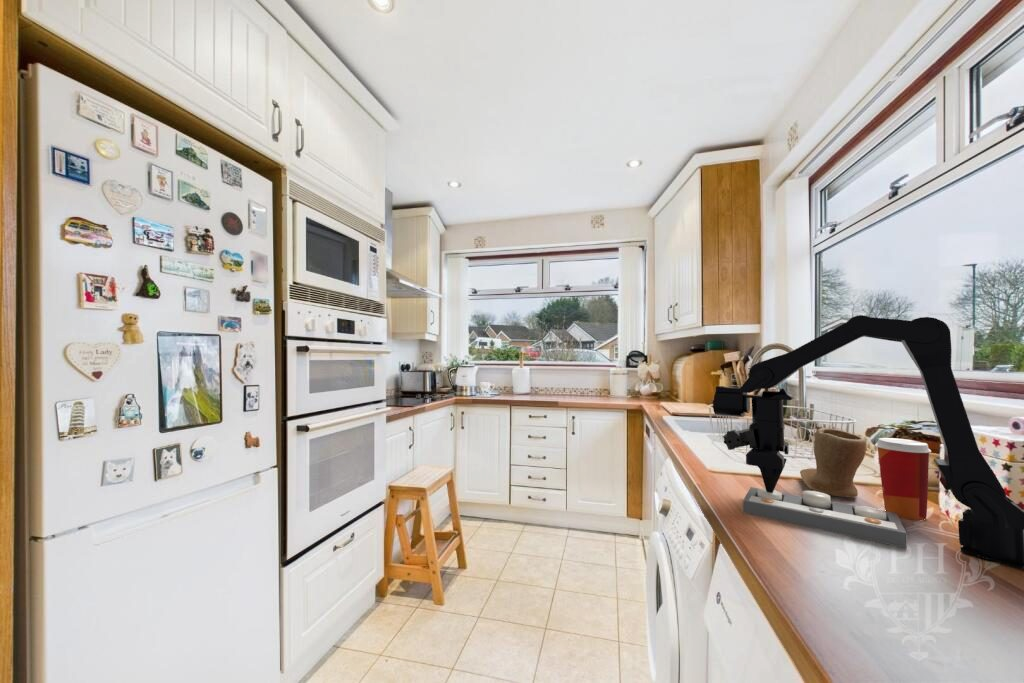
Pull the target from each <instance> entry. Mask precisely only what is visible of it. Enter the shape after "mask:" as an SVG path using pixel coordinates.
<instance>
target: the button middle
mask: <svg viewBox="0 0 1024 683" xmlns="http://www.w3.org/2000/svg"><path fill="white" fill-rule="evenodd" d="M802 496H803V503H804V504H806V505H809V506H812V507H816V508H823V509H827V508H831V495H827V494H825V493H821V492H816V491H813V490H804V491H802Z"/></svg>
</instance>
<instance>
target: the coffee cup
mask: <svg viewBox="0 0 1024 683" xmlns="http://www.w3.org/2000/svg"><path fill="white" fill-rule="evenodd" d="M875 447H877V452H878V453H877V456H878V463H879V473H880V480H881V482H880V483H881V490H882V497H883V498H882V499H883V505H884V511H885V510H886V511H888V512H893V513H897V515H898V517H899V519H900V518H901V519H905V520H911V521H919V520H921V521H925V520H924V519H926V520H927V517H928V516H927V514H928V512H927V511H928V497H929V496H928V495H929V494H928V493H929V492H928V491H929V468H930V466H929V465H930V464H929V462H930V453H932V450H931V449H930V448H929V444H928V443H926V442H922V441H918V440H914V439H906V438H895V437H880V438H878V440H877V442H876V443H875Z"/></svg>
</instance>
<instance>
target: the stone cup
mask: <svg viewBox="0 0 1024 683" xmlns="http://www.w3.org/2000/svg"><path fill="white" fill-rule="evenodd" d="M866 452H867V441H866V439H865V438H863V437H862V436H860V435H857V434H856V433H851V432H848V431H845V430H841V429H835V428H831V427H820V428H819V429H817V431H816V432H815V434H814V443H813V454H814V459H815V464H816V465H815V466H816V468H811V467H810V468H803V469H801V470H800V472H799V474H800V477H801V478H802V480H803V483H804V484H805V485H806V486H807V488H809V490H811V491H816V492H821V493H825V494H827V495H829V496H833V497H839V498H840V497H841V498H853V499H854V498H856V497H858V495H859V492H858V489H857V487H856V486H855V484H854V478H855V475H856V473H857V471H858V469H859V467H860V466H861V464H862V463H863V461H864V458H865V455H866Z"/></svg>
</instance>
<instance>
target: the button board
mask: <svg viewBox="0 0 1024 683" xmlns="http://www.w3.org/2000/svg"><path fill="white" fill-rule="evenodd" d="M758 489H760V488H759V487H758V488H757V487H754V486H753V487H749V489H748V491H747V493H746V494H745V496H744V498H743V500H742V506H743V507H742V510H743V512H742V513H743V514H747V515H753V516H756V517H762V518H766V519H770V520H771V519H772V520H775V521H779V522H784V523H789V524H792V525H793V524H794V525H798V526H801V527H807V528H812V529H817V530H820V531H821V530H822V531H826V532H831V533H835V534H839V535H840V534H841V535H843V536H844V535H845V536H850V537H853V538H857V539H862V540H863V539H864V540H866V541H867V540H868V541H870V542H876V543H881V544H886V545H890V546H894V547H900V548H905V549H908V541H907V532H906V530H905V526H903V523H902V521H901V519H900V517H898V515H897V513H893V512H888V511H885V510H883V511H884V512H885V513H886V521H882V520H877V519H873V518H867V517H861V516H856V515H855V506H856V505H854V504H847V503H842V502H837V501H831V500H830V501H831V508H827V509H823V508H816V507H812V506H809V505H806V504H804V503H803V495H797V494H791V493H786V492H781V493H782V501H777V500H772V499H767V498H762V497H758V493H757V490H758Z"/></svg>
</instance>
